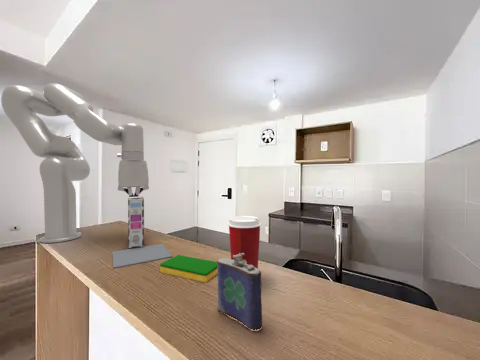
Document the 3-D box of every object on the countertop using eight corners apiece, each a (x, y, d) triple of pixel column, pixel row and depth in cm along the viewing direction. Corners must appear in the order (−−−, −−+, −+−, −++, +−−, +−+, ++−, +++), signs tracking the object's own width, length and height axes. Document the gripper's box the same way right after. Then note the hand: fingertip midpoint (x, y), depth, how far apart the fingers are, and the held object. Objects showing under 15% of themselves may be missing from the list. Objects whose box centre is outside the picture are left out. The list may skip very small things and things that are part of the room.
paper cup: (264, 273, 53) (263, 216, 53) (258, 289, 46) (257, 222, 45) (233, 270, 55) (232, 214, 55) (222, 285, 48) (222, 220, 48)
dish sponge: (206, 284, 49) (206, 273, 49) (159, 273, 55) (159, 263, 55) (221, 271, 56) (221, 262, 56) (178, 263, 61) (178, 254, 61)
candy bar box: (145, 247, 73) (144, 197, 73) (128, 249, 71) (127, 198, 71) (144, 239, 83) (143, 195, 83) (129, 241, 81) (128, 196, 81)
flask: (214, 310, 39) (214, 249, 39) (226, 303, 41) (226, 245, 41) (255, 335, 33) (255, 263, 33) (267, 325, 35) (267, 258, 35)
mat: (112, 252, 69) (112, 251, 69) (162, 244, 77) (162, 243, 77) (113, 268, 57) (113, 267, 57) (172, 257, 65) (172, 256, 65)
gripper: (110, 155, 77) (111, 208, 77) (155, 157, 84) (156, 205, 85) (109, 157, 83) (111, 206, 83) (152, 158, 91) (153, 203, 91)
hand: (134, 205), depth 84 cm, fingers closed
